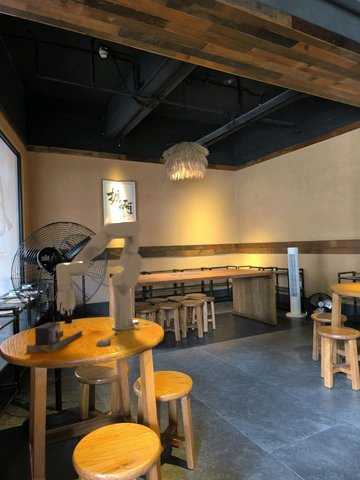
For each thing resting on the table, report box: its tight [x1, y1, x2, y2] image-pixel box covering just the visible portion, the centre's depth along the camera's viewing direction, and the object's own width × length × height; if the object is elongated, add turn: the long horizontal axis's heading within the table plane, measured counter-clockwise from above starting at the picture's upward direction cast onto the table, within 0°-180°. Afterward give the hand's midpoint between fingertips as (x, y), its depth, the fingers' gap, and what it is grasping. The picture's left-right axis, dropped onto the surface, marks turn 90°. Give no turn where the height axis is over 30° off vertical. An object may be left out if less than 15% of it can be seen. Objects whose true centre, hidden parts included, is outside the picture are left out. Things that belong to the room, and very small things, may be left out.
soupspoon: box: [95, 331, 119, 348], centre depth 155 cm, size 22×3×7 cm
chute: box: [26, 330, 83, 354], centre depth 153 cm, size 12×27×3 cm, turn 169°
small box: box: [34, 322, 61, 345], centre depth 147 cm, size 11×6×10 cm, turn 170°
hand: (68, 323), depth 163 cm, fingers closed
